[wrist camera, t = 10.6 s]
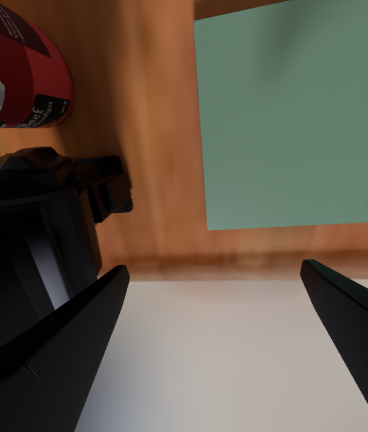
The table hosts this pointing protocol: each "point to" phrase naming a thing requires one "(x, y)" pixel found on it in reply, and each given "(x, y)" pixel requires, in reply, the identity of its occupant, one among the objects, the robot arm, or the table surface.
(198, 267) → the table surface
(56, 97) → the canned food
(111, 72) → the table surface
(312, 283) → the robot arm
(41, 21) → the table surface
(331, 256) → the table surface
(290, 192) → the putting board
